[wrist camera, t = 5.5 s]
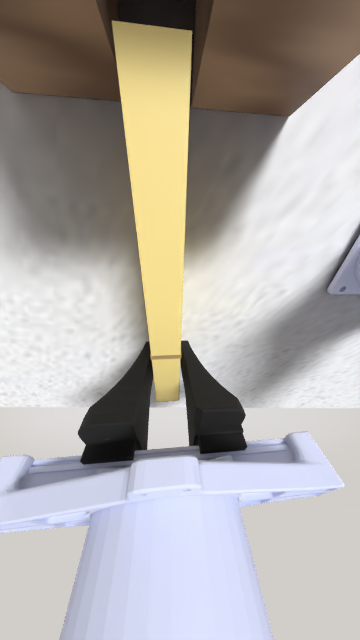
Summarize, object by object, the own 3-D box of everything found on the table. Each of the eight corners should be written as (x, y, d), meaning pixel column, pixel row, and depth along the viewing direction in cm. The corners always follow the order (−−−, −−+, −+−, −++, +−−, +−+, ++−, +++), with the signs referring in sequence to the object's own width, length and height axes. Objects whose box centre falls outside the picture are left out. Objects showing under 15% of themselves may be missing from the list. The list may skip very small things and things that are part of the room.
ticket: (178, 148, 8) (194, 30, 3) (175, 347, 15) (179, 400, 11) (144, 146, 7) (109, 19, 3) (159, 347, 15) (156, 401, 10)
